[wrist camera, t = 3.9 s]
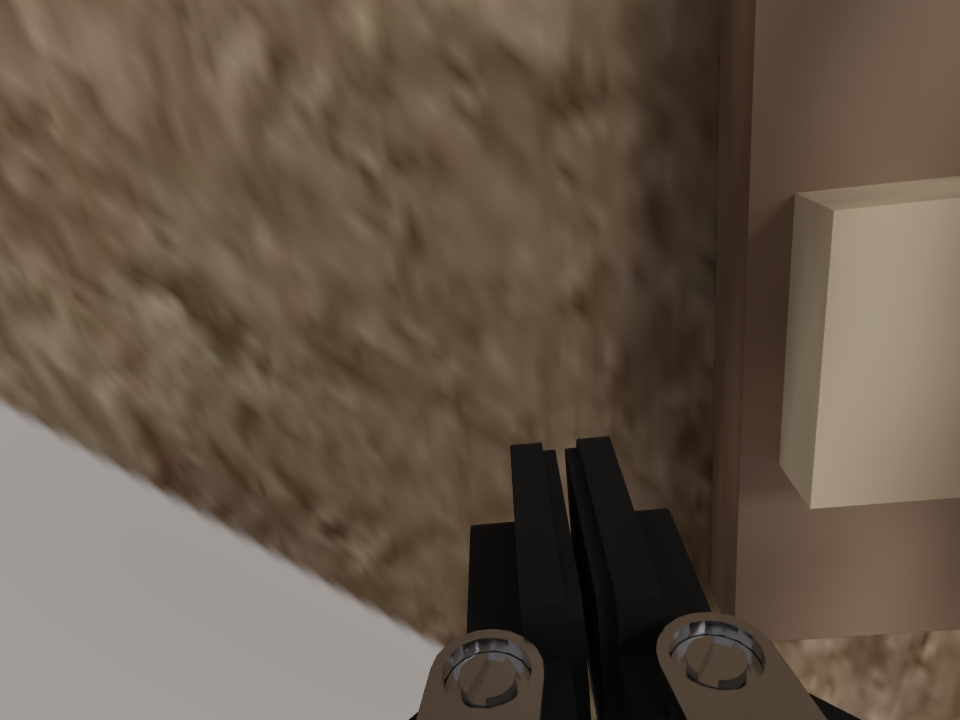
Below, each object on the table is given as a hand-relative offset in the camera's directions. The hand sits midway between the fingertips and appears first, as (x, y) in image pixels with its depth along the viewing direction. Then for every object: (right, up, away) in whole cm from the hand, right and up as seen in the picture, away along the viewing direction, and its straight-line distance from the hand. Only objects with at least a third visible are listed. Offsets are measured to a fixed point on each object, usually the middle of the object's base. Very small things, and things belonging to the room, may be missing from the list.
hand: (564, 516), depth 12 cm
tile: (+10, +4, +5) cm, 12 cm away
